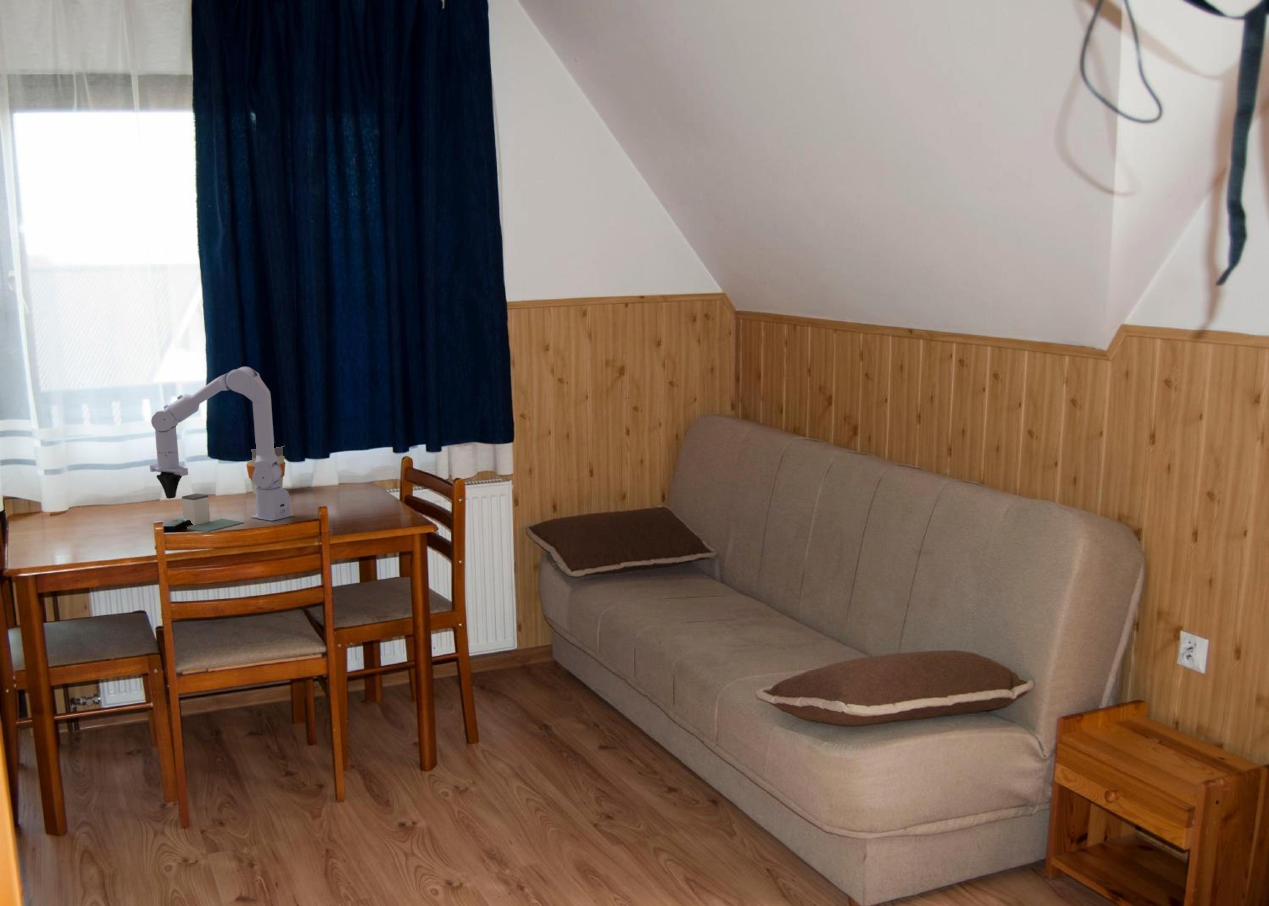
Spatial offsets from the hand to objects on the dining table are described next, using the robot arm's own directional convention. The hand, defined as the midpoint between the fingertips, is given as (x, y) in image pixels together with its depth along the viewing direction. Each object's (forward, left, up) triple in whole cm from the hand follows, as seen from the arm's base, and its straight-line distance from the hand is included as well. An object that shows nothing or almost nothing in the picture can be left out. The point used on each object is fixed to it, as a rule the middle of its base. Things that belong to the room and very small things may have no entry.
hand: (171, 497), depth 336 cm
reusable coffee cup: (+7, -41, -6) cm, 42 cm away
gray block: (-11, 0, -6) cm, 13 cm away
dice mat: (-18, 0, -6) cm, 19 cm away
